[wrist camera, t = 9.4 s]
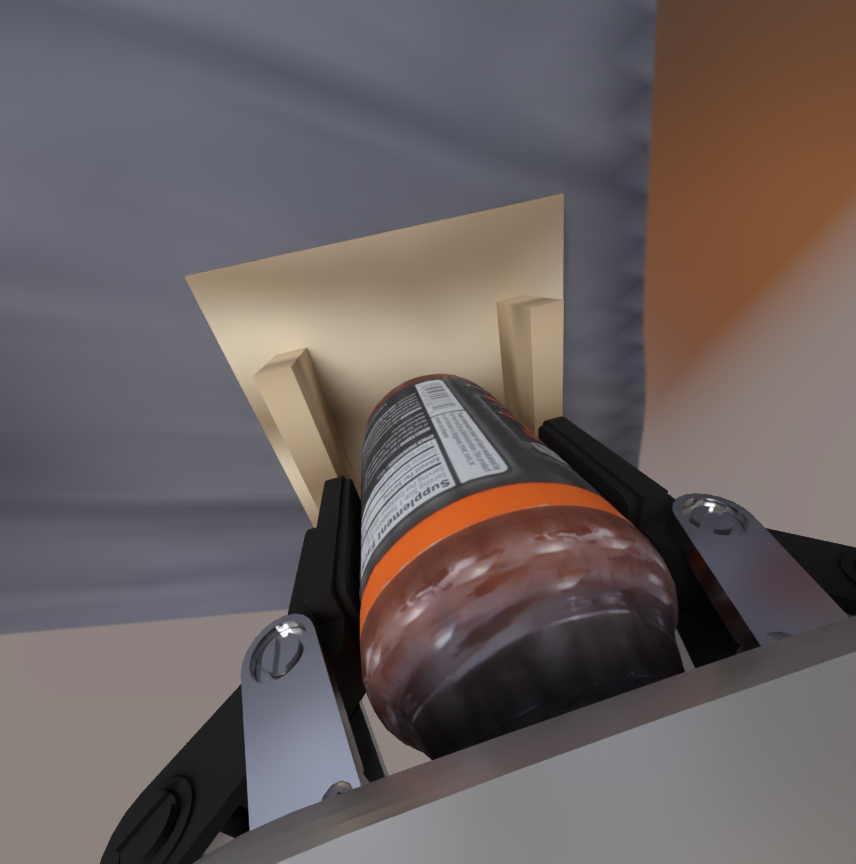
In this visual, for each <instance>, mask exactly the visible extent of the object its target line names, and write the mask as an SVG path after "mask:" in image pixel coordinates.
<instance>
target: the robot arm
mask: <svg viewBox="0 0 856 864" xmlns="http://www.w3.org/2000/svg"><path fill="white" fill-rule="evenodd" d="M538 438H539V439H540V440H541V441H542V442H543V443H544V444H545V445H546V446H547V447H549V448H550V449H552V450H553V451H554V452H555V453H556V454H557V455H558V456H559V457H560V458H561V459H562V460H563V461H565V462H566V463H567V464H568V465H569V466H570V467H571V468H572V469H573V470H574V471H576V472H577V473H578V474H579V475H580V476H581V477H582V478H583V479H584V480H585V481H586V482H587V483H589V484H590V485H591V486H592V487H593V488H594V489H595V490H596V491H597V492H598V493H599V494H600V495H601V496H602V497H603V498H604V499H605V500H607V501H608V502H609V503H610V504H611V505H612V506H613V507H614V508H615V509H616V510H617V511H618V512H619V513H621V514H622V515H623V516H624V517H625V518H626V519H627V520H628V521H629V522H631V523H632V524H633V525H634V526H635V527H636V528H637V529H638V530H639V531H640V532H641V533H642V534H643V535H644V536H645V537H647V538H648V539H649V541H650V542H651V544H652V545H653V546H654V548H655V549H656V550H657V551H658V553H659V554H660V555H661V557H662V558H663V560H664V562H665V564H666V566H667V568H668V570H669V572H670V575H671V577H672V579H673V581H674V583H675V587H676V595H677V600H678V606H679V609H678V618H679V620H678V623H677V627H676V630H675V638H676V642H677V645H678V649H679V652H680V655H681V659H682V663H683V666H684V670H685V672H684V673H681V674H678V675H675V676H672V677H669V678H667V679H664V680H661V681H658V682H655V683H652V684H649V685H646V686H643V687H641V688H638V689H635V690H632V691H629V692H626V693H623V694H620V695H618V696H615V697H612V698H609V699H606V700H603V701H600V702H597V703H594V704H592V705H589V706H586V707H583V708H580V709H577V710H574V711H571V712H569V713H566V714H563V715H560V716H557V717H554V718H551V719H548V720H546V721H543V722H540V723H537V724H534V725H531V726H528V727H526V728H523V729H520V730H517V731H514V732H511V733H508V734H506V735H503V736H500V737H497V738H494V739H491V740H489V741H486V742H483V743H480V744H477V745H474V746H472V747H469V748H466V749H463V750H460V751H458V752H455V753H452V754H449V755H446V756H443V757H441V758H438V759H435V760H432V761H429V762H426V763H424V764H421V765H418V766H415V767H412V768H409V769H407V770H404V771H401V772H398V773H395V774H393V775H390V776H389V775H388V772H387V769H386V767H385V764H384V761H383V758H382V755H381V753H380V750H379V747H378V744H377V741H376V739H375V736H374V733H373V731H372V728H371V725H370V722H369V719H368V716H367V714H366V711H365V708H364V705H363V703H362V700H361V699H362V698H363V696H364V695H365V693H366V690H365V687H364V683H363V679H362V670H361V655H360V607H361V603H360V600H359V591H360V577H359V572H360V535H361V530H360V526H361V522H360V521H361V500H360V497H359V495H358V492H357V490H356V487H355V485H354V482H353V480H352V479H347V480H346V478H345V477H344V476H340V477H337V478H333V479H329V480H326V481H325V483H324V488H323V493H322V499H321V504H320V510H319V515H318V521H317V526H316V528H312V529H309V530H308V531H307V532H306V534H305V538H304V542H303V547H302V552H301V556H300V561H299V565H298V570H297V574H296V579H295V584H294V588H293V593H292V597H291V602H290V606H289V611H288V615H286V616H283V617H281V618H279V619H277V620H275V621H274V622H272V623H271V624H270V625H268V626H267V627H266V628H264V629H263V630H262V631H261V633H260V634H259V635H258V636H257V637H256V638H255V639H254V641H253V642H252V644H251V645H250V647H249V649H248V650H247V652H246V655H245V657H244V660H243V663H242V670H241V685H240V686H239V687H238V688H237V689H236V690H235V691H234V692H233V694H232V695H231V696H230V697H229V698H228V699H227V700H226V701H225V702H224V703H223V705H222V706H221V707H220V708H219V709H218V710H217V711H216V712H215V713H214V714H213V716H212V717H211V718H210V719H209V720H208V721H207V722H206V723H205V724H204V725H203V726H202V727H201V729H200V730H199V731H198V732H197V733H196V734H195V735H194V736H193V737H192V738H191V739H190V741H189V742H188V743H187V744H186V745H185V746H184V747H183V748H182V749H181V750H180V751H179V753H178V754H177V755H176V756H175V757H174V758H173V759H172V760H171V761H170V762H169V764H168V765H167V766H166V767H165V768H164V769H163V770H162V771H161V772H160V774H158V776H157V777H156V778H155V779H154V780H153V781H152V782H151V783H150V784H149V785H148V787H147V788H146V789H145V790H144V791H143V792H142V793H141V794H140V795H139V797H138V798H137V799H136V800H135V802H134V803H133V804H132V805H131V807H130V808H129V809H128V810H127V812H126V813H125V815H124V816H123V818H122V819H121V821H120V823H119V824H118V826H117V828H116V829H115V831H114V832H113V834H112V836H111V839H110V841H109V843H108V845H107V847H106V849H105V852H104V854H103V856H102V858H101V862H100V864H856V548H855V547H851V546H846V545H842V544H837V543H832V542H828V541H823V540H818V539H814V538H809V537H804V536H800V535H795V534H791V533H786V532H781V531H777V530H772V529H767V528H764V527H763V525H762V524H761V523H760V522H759V521H758V520H757V519H756V518H755V517H754V516H753V515H752V514H751V513H750V512H748V511H747V510H746V509H745V508H743V507H741V506H740V505H737V504H736V503H734V502H732V501H730V500H727V499H724V498H721V497H718V496H712V495H708V494H696V493H695V494H687V495H683V496H681V497H679V498H677V499H674V498H673V497H671V496H670V495H669V494H667V493H668V491H667V490H666V489H664V488H663V487H662V486H660V485H659V484H657V483H656V482H655V481H653V480H652V479H650V478H649V477H647V476H646V475H645V474H643V473H642V472H641V471H639V470H638V469H636V468H635V467H634V466H632V465H631V464H629V463H628V462H627V461H625V460H624V459H622V458H621V457H619V456H618V455H617V454H615V453H614V452H612V451H611V450H610V449H608V448H607V447H605V446H604V445H603V444H601V443H600V442H598V441H597V440H596V439H594V438H593V437H591V436H590V435H589V434H587V433H586V432H584V431H583V430H582V429H580V428H579V427H577V426H576V425H574V424H573V423H572V422H570V421H569V420H567V419H566V418H565V417H563V416H560V417H556V418H552V419H549V420H545V421H544V422H543V424H542V426H540V427H539V429H538Z"/></svg>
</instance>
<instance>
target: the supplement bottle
mask: <svg viewBox="0 0 856 864" xmlns="http://www.w3.org/2000/svg"><path fill="white" fill-rule="evenodd" d="M361 460H362V466H361V521H360V522H361V526H360V530H361V535H360V572H359V577H360V591H359V600H360V603H361V607H360V655H361V670H362V679H363V683H364V687H365V690H366V693H367V696H368V698H369V700H370V703H371V705H372V707H373V709H374V711H375V713H376V714H377V716H378V718H379V719H380V720H381V722H382V723H383V725H384V726H385V727H386V729H387V730H388V731H389V732H391V733H392V734H393V735H394V736H395V737H397V738H398V739H399V740H400V741H402V742H403V743H404V744H406V745H408V746H411V747H412V748H414V749H417V750H418V751H421V752H423V753H424V754H426V755H427V756H428V757H429V758H430V759H431V760H435V759H438V758H441V757H443V756H446V755H449V754H452V753H455V752H458V751H460V750H463V749H466V748H469V747H472V746H474V745H477V744H480V743H483V742H486V741H489V740H491V739H494V738H497V737H500V736H503V735H506V734H508V733H511V732H514V731H517V730H520V729H523V728H526V727H528V726H531V725H534V724H537V723H540V722H543V721H546V720H548V719H551V718H554V717H557V716H560V715H563V714H566V713H569V712H571V711H574V710H577V709H580V708H583V707H586V706H589V705H592V704H594V703H597V702H600V701H603V700H606V699H609V698H612V697H615V696H618V695H620V694H623V693H626V692H629V691H632V690H635V689H638V688H641V687H643V686H646V685H649V684H652V683H655V682H658V681H661V680H664V679H667V678H669V677H672V676H675V675H678V674H681V673H684V672H685V670H684V666H683V663H682V659H681V655H680V652H679V649H678V645H677V642H676V638H675V630H676V627H677V623H678V620H679V618H678V609H679V606H678V600H677V595H676V587H675V583H674V581H673V579H672V577H671V575H670V572H669V570H668V568H667V566H666V564H665V562H664V560H663V558H662V557H661V555H660V554H659V553H658V551H657V550H656V549H655V548H654V546H653V545H652V544H651V542H650V541H649V539H648V538H647V537H645V536H644V535H643V534H642V533H641V532H640V531H639V530H638V529H637V528H636V527H635V526H634V525H633V524H632V523H631V522H629V521H628V520H627V519H626V518H625V517H624V516H623V515H622V514H621V513H619V512H618V511H617V510H616V509H615V508H614V507H613V506H612V505H611V504H610V503H609V502H608V501H607V500H605V499H604V498H603V497H602V496H601V495H600V494H599V493H598V492H597V491H596V490H595V489H594V488H593V487H592V486H591V485H590V484H589V483H587V482H586V481H585V480H584V479H583V478H582V477H581V476H580V475H579V474H578V473H577V472H576V471H574V470H573V469H572V468H571V467H570V466H569V465H568V464H567V463H566V462H565V461H563V460H562V459H561V458H560V457H559V456H558V455H557V454H556V453H555V452H554V451H553V450H552V449H550V448H549V447H547V446H546V445H545V444H544V443H543V442H542V441H541V440H540V439H539V438H538V437H536V436H535V435H534V433H533V432H531V431H530V430H529V429H528V428H527V427H526V426H525V425H523V424H522V423H521V422H520V421H519V420H518V419H517V418H516V417H515V416H514V415H513V414H512V413H511V412H510V411H509V410H507V409H506V408H505V407H504V406H503V405H502V404H501V403H500V402H499V401H498V400H497V399H496V398H495V397H493V396H492V395H491V394H490V393H489V392H487V391H485V390H484V389H483V388H481V387H480V386H478V385H477V384H475V383H473V382H472V381H470V380H467V379H465V378H462V377H458V376H456V375H450V374H432V375H425V376H420V377H416V378H413V379H411V380H408V381H405V382H403V383H402V384H400V385H399V386H397V387H395V388H394V389H393V390H391V391H390V392H389V393H388V394H386V395H385V396H384V397H383V398H382V399H381V400H380V402H379V403H378V404H377V405H376V406H375V408H374V410H373V411H372V413H371V415H370V416H369V419H368V421H367V423H366V427H365V430H364V433H363V443H362V456H361Z"/></svg>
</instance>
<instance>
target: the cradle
mask: <svg viewBox="0 0 856 864" xmlns="http://www.w3.org/2000/svg"><path fill="white" fill-rule="evenodd" d="M563 254H564V193H563V194H558V195H554V196H549V197H545V198H540V199H535V200H531V201H526V202H522V203H517V204H513V205H508V206H503V207H499V208H494V209H490V210H485V211H480V212H476V213H471V214H467V215H462V216H458V217H453V218H448V219H444V220H439V221H435V222H430V223H426V224H421V225H416V226H412V227H407V228H403V229H398V230H394V231H389V232H384V233H380V234H375V235H371V236H366V237H361V238H357V239H352V240H348V241H343V242H339V243H334V244H329V245H325V246H320V247H316V248H311V249H307V250H302V251H297V252H293V253H288V254H284V255H279V256H274V257H270V258H265V259H261V260H256V261H252V262H247V263H242V264H238V265H233V266H229V267H224V268H220V269H215V270H210V271H206V272H201V273H197V274H192V275H188V276H184V277H185V279H186V281H187V283H188V285H189V287H190V289H191V291H192V293H193V294H194V296H195V298H196V300H197V302H198V304H199V306H200V308H201V310H202V312H203V314H204V316H205V318H206V320H207V322H208V323H209V325H210V327H211V329H212V331H213V333H214V335H215V337H216V339H217V341H218V343H219V345H220V347H221V349H222V350H223V352H224V354H225V356H226V358H227V360H228V362H229V364H230V366H231V368H232V370H233V372H234V374H235V376H236V378H237V379H238V381H239V383H240V385H241V387H242V389H243V391H244V393H245V395H246V397H247V399H248V401H249V403H250V405H251V407H252V408H253V410H254V412H255V414H256V416H257V418H258V420H259V422H260V424H261V426H262V428H263V430H264V432H265V434H266V436H267V437H268V439H269V441H270V443H271V445H272V447H273V449H274V451H275V453H276V455H277V457H278V459H279V461H280V463H281V465H282V466H283V468H284V470H285V472H286V474H287V476H288V478H289V480H290V482H291V484H292V486H293V488H294V490H295V492H296V494H297V495H298V497H299V499H300V501H301V503H302V505H303V507H304V509H305V511H306V513H307V515H308V517H309V519H310V521H311V523H312V524H313V526H314V528H316V526H317V521H318V515H319V510H320V504H321V499H322V493H323V488H324V483H325V481H326V480H329V479H333V478H337V477H340V476H344V477H345V478H346V480H347V479H352V480H353V482H354V485H355V487H356V490H357V492H358V495H359V497H360V500H361V466H362V460H361V456H362V443H363V433H364V430H365V427H366V423H367V421H368V419H369V416H370V415H371V413H372V411H373V410H374V408H375V406H376V405H377V404H378V403H379V402H380V400H381V399H382V398H383V397H384V396H385V395H386V394H388V393H389V392H390V391H391V390H393V389H394V388H395V387H397V386H399V385H400V384H402V383H403V382H405V381H408V380H411V379H413V378H416V377H420V376H425V375H432V374H450V375H456V376H458V377H462V378H465V379H467V380H470V381H472V382H473V383H475V384H477V385H478V386H480V387H481V388H483V389H484V390H485V391H487V392H489V393H490V394H491V395H492V396H493V397H495V398H496V399H497V400H498V401H499V402H500V403H501V404H502V405H503V406H504V407H505V408H506V409H507V410H509V411H510V412H511V413H512V414H513V415H514V416H515V417H516V418H517V419H518V420H519V421H520V422H521V423H522V424H523V425H525V426H526V427H527V428H528V429H529V430H530V431H531V432H533V433H534V435H535V436H536V437H538V429H539V427H540V426H542V424H543V422H544V421H545V420H549V419H552V418H556V417H560V416H563V328H564V300H563Z"/></svg>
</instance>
